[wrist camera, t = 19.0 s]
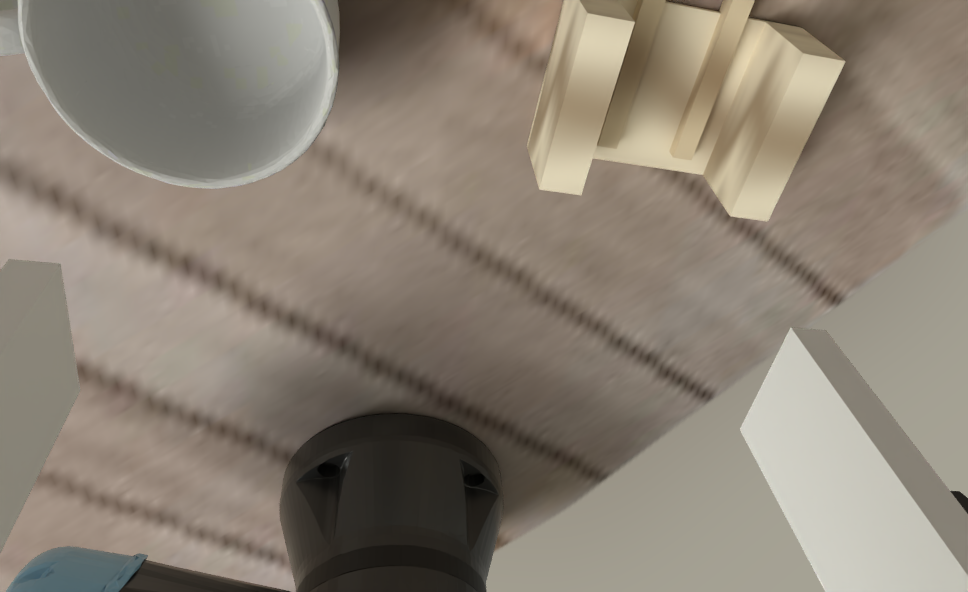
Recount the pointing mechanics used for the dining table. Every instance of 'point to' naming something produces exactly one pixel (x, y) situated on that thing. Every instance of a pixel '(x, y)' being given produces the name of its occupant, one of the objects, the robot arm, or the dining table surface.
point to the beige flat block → (680, 97)
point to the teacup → (184, 80)
